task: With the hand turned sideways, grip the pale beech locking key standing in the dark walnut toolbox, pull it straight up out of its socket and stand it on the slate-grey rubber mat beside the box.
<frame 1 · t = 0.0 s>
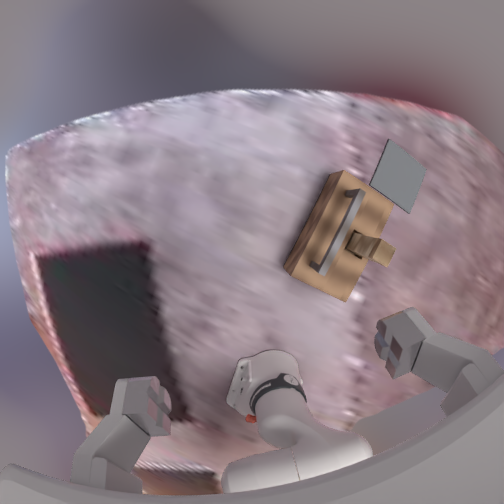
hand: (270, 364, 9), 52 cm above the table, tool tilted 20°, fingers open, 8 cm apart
toolbox: (333, 234, 62), on the table
slate mat: (399, 176, 61), on the table
wooden key: (350, 242, 58), point 4 cm above the table, touching toolbox
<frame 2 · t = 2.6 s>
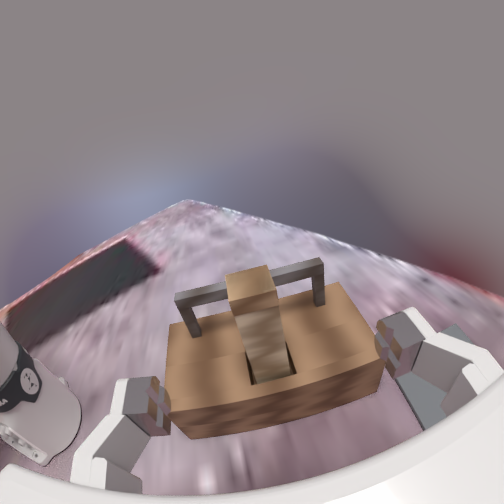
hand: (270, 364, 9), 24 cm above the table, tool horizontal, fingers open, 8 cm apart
toolbox: (273, 379, 34), on the table
slate mat: (447, 376, 26), on the table
wooden key: (274, 381, 30), point 4 cm above the table, touching toolbox
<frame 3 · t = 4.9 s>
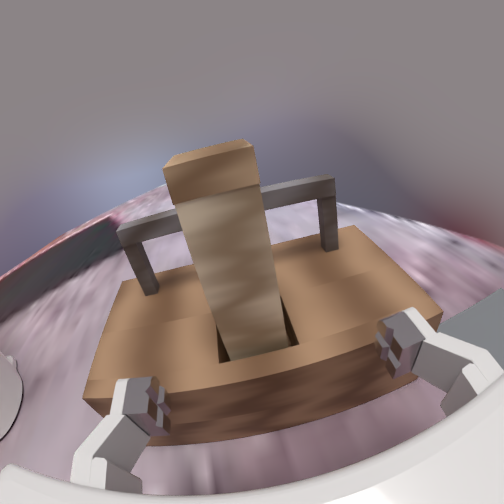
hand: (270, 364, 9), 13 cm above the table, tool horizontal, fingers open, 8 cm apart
toolbox: (264, 364, 24), on the table
wooden key: (263, 363, 19), point 4 cm above the table, touching toolbox
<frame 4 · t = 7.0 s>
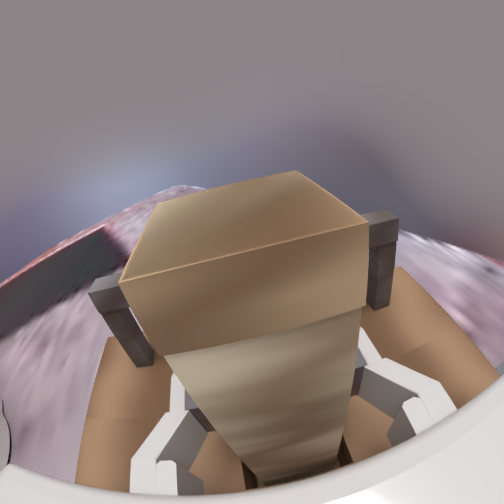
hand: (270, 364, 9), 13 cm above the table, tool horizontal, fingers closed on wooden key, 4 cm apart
toolbox: (288, 438, 17), on the table
wooden key: (294, 457, 12), point 4 cm above the table, touching gripper, toolbox
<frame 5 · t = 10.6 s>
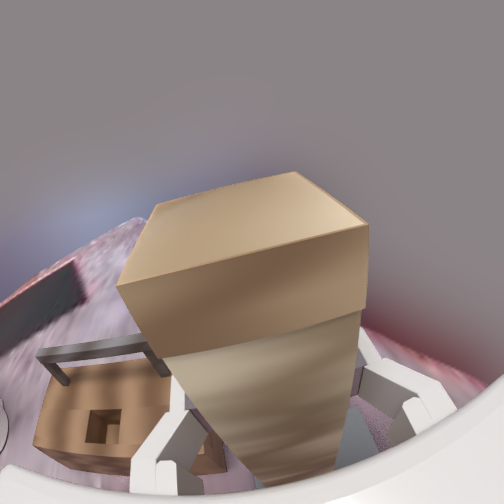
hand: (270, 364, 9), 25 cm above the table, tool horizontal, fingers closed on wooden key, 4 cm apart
toolbox: (137, 432, 29), on the table
slate mat: (319, 473, 22), on the table
wooden key: (294, 458, 12), point 16 cm above the table, touching gripper
when the fingers open (11 cm above the table, at t = 14.0 s): wooden key stays where it is, resting on slate mat.
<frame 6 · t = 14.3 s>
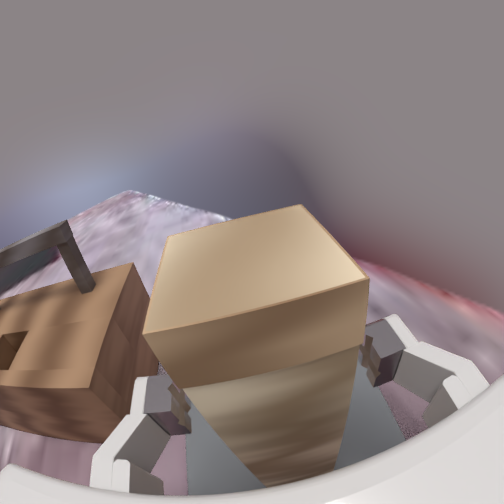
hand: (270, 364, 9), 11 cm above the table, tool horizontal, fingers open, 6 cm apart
toolbox: (62, 383, 21), on the table
slate mat: (295, 462, 13), on the table
wooden key: (295, 462, 13), point 1 cm above the table, touching slate mat
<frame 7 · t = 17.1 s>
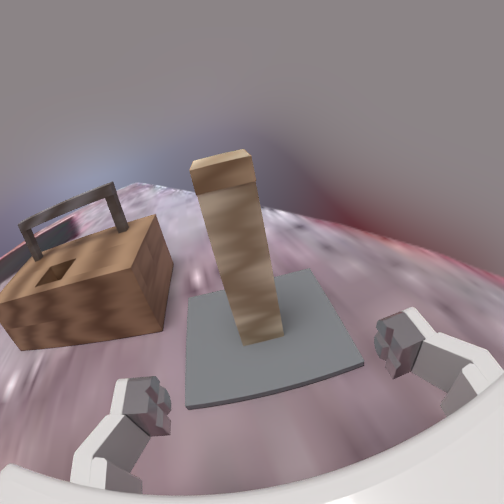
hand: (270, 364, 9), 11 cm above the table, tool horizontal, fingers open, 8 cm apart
toolbox: (91, 309, 33), on the table
slate mat: (261, 331, 25), on the table
wooden key: (260, 327, 24), point 1 cm above the table, touching slate mat
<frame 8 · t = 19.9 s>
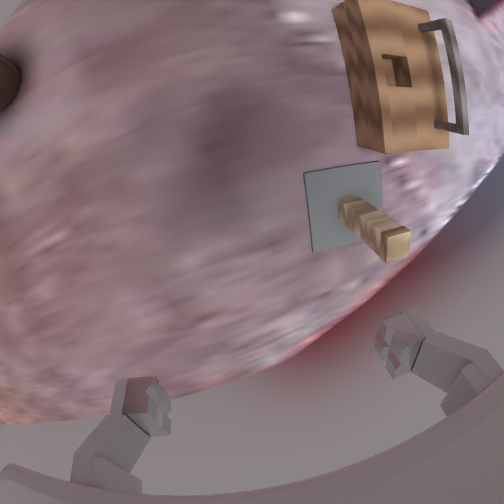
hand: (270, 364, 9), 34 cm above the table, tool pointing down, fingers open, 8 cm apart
toolbox: (382, 75, 34), on the table
slate mat: (346, 205, 44), on the table
plant pot: (6, 87, 24), on the table
wooden key: (347, 207, 44), point 1 cm above the table, touching slate mat
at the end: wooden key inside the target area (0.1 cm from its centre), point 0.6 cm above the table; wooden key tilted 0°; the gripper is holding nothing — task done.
